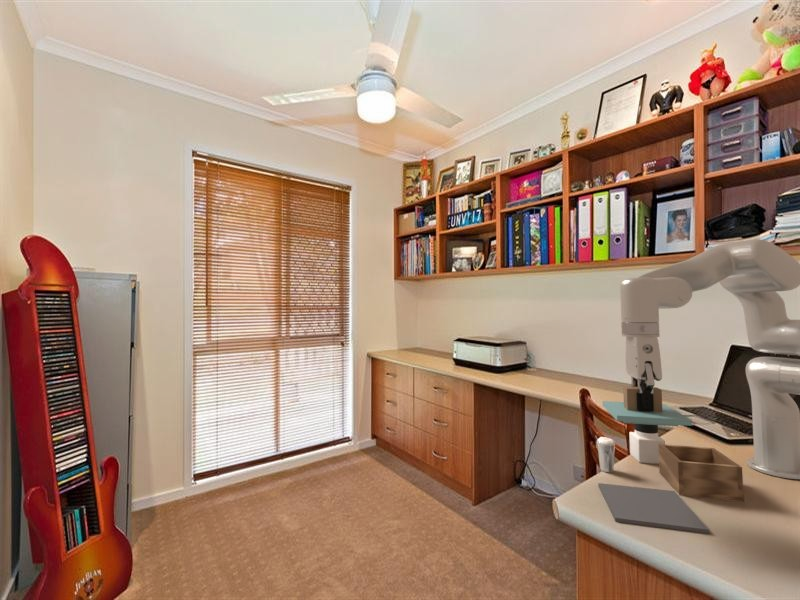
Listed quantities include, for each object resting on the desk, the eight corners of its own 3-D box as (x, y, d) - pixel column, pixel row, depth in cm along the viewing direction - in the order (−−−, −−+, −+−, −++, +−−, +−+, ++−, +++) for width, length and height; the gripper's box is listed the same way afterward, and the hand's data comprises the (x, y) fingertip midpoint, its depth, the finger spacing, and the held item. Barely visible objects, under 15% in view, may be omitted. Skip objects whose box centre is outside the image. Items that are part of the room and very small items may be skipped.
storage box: (715, 478, 101) (713, 448, 101) (743, 501, 88) (742, 467, 89) (659, 472, 105) (658, 443, 105) (679, 494, 92) (677, 461, 92)
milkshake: (591, 467, 109) (590, 432, 109) (609, 466, 109) (608, 432, 109) (601, 474, 104) (600, 438, 104) (619, 473, 105) (618, 437, 105)
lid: (666, 412, 92) (665, 383, 92) (692, 429, 79) (690, 396, 79) (602, 408, 96) (601, 381, 96) (617, 424, 83) (616, 392, 83)
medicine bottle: (666, 464, 110) (664, 423, 110) (639, 463, 111) (637, 422, 112) (654, 455, 117) (653, 416, 117) (629, 454, 118) (628, 416, 119)
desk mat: (674, 494, 92) (674, 491, 92) (709, 533, 76) (708, 529, 76) (598, 486, 97) (598, 483, 97) (615, 521, 81) (615, 517, 81)
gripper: (672, 332, 79) (676, 419, 78) (646, 328, 95) (649, 401, 94) (632, 332, 81) (635, 417, 81) (613, 328, 97) (615, 400, 96)
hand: (642, 408), depth 87 cm, fingers closed on lid, 3 cm apart
